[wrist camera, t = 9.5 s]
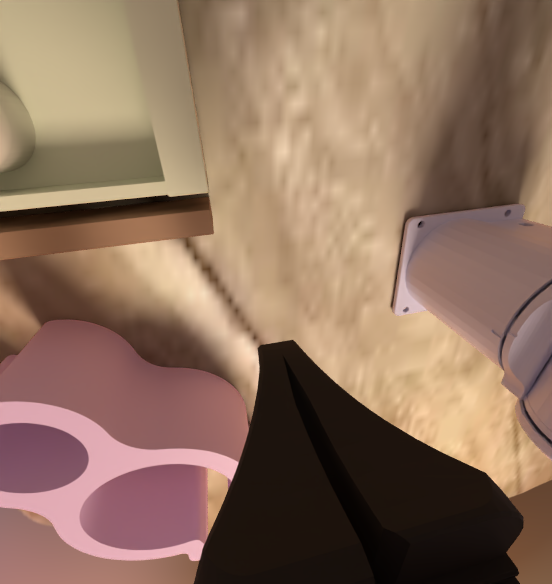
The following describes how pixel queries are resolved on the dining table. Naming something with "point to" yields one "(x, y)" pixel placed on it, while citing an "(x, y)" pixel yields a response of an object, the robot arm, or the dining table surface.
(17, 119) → the pale pink cylinder
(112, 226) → the rack
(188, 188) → the tray
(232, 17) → the dining table surface
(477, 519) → the robot arm
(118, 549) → the clip
